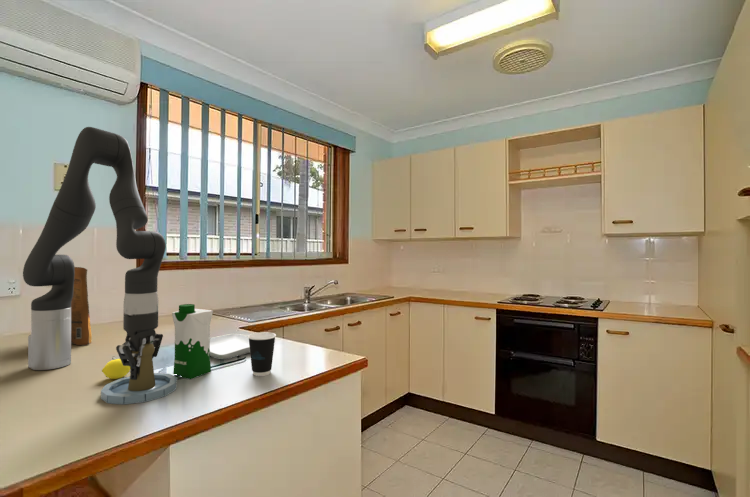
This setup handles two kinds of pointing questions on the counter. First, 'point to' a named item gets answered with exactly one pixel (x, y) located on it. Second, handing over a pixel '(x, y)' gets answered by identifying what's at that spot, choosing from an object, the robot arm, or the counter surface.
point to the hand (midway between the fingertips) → (140, 378)
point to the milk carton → (192, 341)
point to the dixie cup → (261, 352)
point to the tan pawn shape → (144, 371)
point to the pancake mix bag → (80, 309)
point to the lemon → (115, 369)
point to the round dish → (121, 395)
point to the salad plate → (229, 346)
